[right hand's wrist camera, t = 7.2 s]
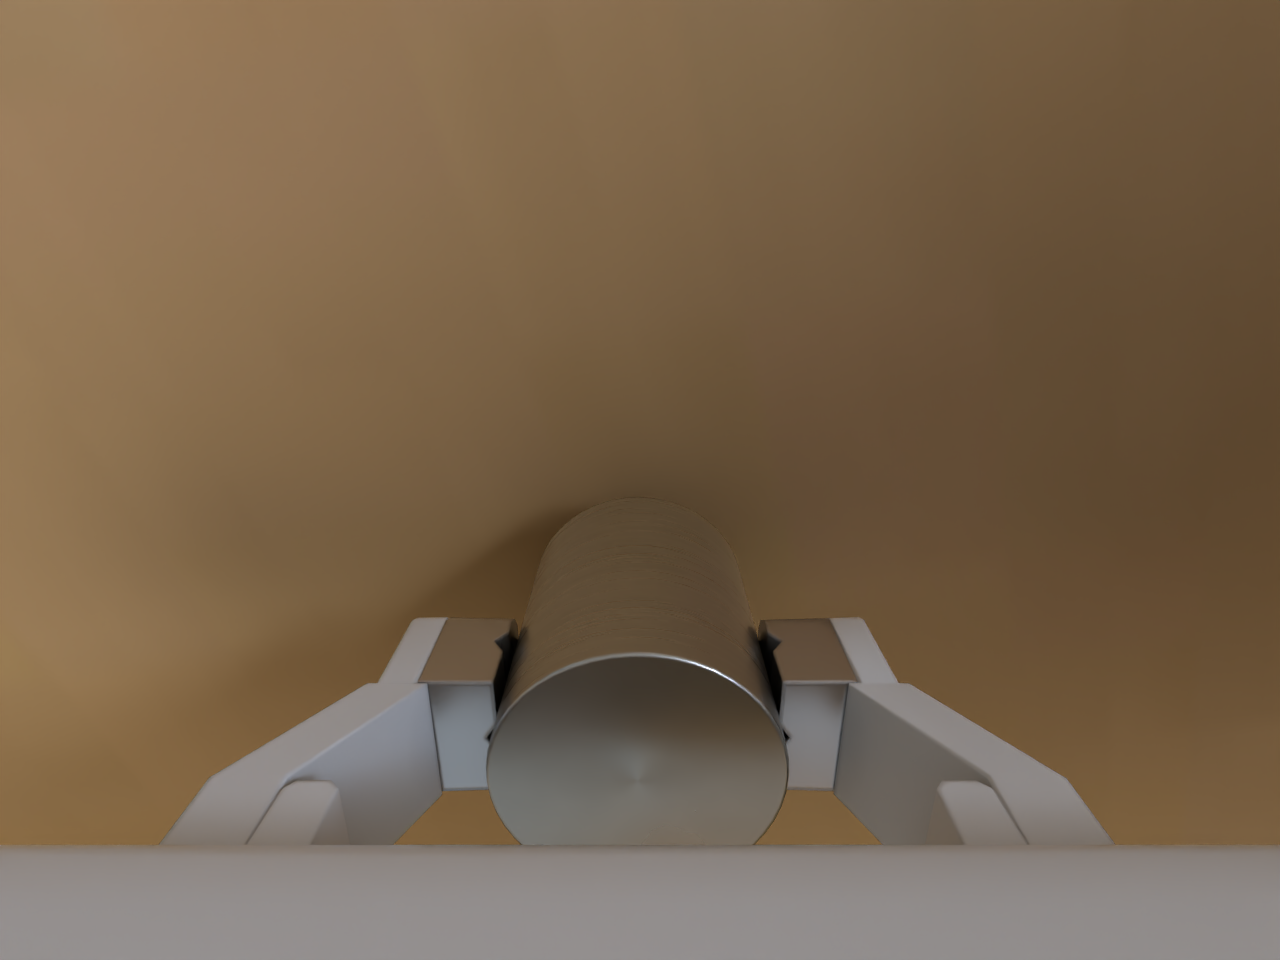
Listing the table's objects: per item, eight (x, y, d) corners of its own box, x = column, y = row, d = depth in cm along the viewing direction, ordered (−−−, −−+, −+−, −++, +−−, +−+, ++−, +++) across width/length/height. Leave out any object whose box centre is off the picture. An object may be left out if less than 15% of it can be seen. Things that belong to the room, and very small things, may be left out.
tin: (743, 492, 12) (799, 650, 8) (737, 671, 13) (783, 886, 9) (527, 498, 12) (467, 658, 8) (544, 676, 13) (501, 891, 9)
